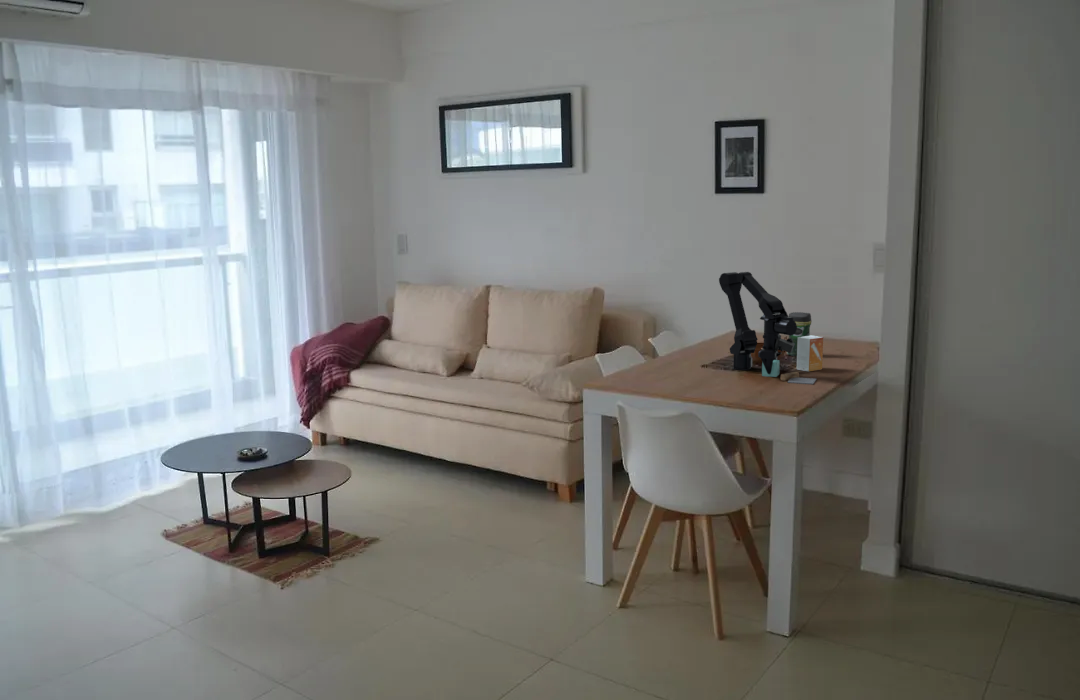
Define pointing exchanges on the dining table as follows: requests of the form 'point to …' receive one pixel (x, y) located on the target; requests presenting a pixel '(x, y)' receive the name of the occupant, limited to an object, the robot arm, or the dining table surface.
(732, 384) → the dining table surface
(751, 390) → the dining table surface
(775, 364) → the teal block
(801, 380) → the coaster
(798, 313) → the coffee jar
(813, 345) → the small box
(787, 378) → the tan bar
